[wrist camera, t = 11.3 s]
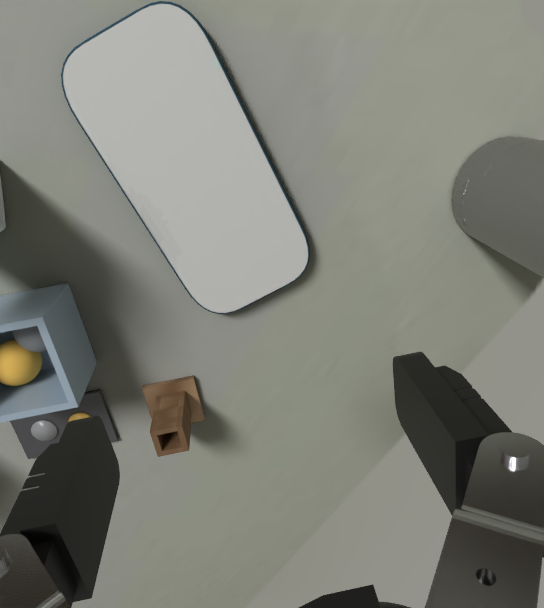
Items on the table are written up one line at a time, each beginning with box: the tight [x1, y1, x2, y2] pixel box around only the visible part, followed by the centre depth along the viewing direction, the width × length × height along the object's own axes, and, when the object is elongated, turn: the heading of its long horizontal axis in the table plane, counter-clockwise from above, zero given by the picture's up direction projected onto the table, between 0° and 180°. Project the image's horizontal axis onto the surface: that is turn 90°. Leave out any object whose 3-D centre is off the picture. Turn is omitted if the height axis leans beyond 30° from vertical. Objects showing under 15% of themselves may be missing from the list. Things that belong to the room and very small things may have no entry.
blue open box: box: [0, 283, 97, 423], centre depth 40 cm, size 8×8×7 cm
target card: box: [10, 390, 118, 459], centre depth 47 cm, size 9×6×1 cm, turn 99°
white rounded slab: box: [61, 1, 310, 314], centre depth 39 cm, size 24×12×2 cm, turn 27°
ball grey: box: [12, 326, 47, 352], centre depth 41 cm, size 4×4×4 cm
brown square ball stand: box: [142, 376, 205, 457], centre depth 45 cm, size 5×5×6 cm
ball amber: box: [0, 339, 42, 386], centre depth 42 cm, size 4×4×4 cm
